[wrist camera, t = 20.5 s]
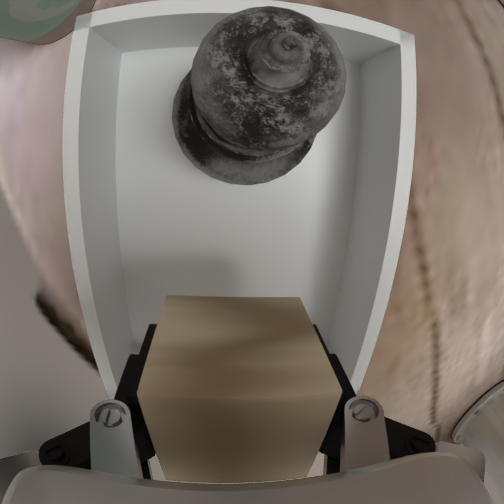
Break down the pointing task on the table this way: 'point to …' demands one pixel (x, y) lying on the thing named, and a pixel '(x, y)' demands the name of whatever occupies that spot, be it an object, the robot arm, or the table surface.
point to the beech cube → (236, 389)
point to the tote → (230, 185)
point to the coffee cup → (40, 19)
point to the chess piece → (258, 95)
